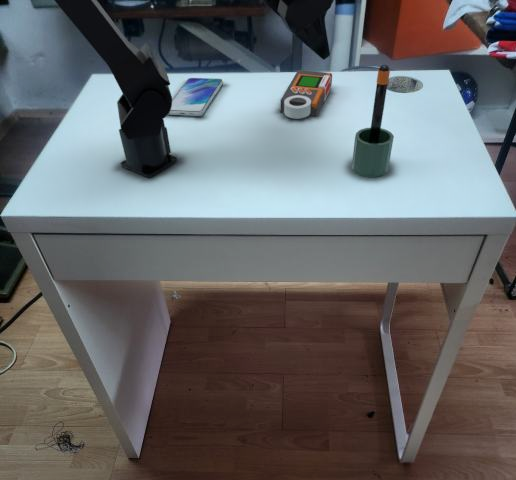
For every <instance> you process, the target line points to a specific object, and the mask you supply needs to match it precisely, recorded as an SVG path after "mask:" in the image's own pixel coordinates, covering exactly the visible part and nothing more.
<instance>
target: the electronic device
mask: <svg viewBox="0 0 516 480" xmlns="http://www.w3.org/2000/svg"><path fill="white" fill-rule="evenodd" d="M332 84H333V73H332V72H325V71H314V70H313V71H312V70H304V69H297V71H296V73H295V74H294V76H293V78H292V80H291V81H290V83H289V84H288V86H287V88H286V90H285V91H284V93H283V95H282V97H281V99H280V113H283V114H284V115H285V116H286V117H288V118H289V119H295V120H296V119H299V120H300V119H304V118H307V117H318V114H319V112H320V111H321V109H322V106H323V105H324V103H325V102H326V99H327V97H328V95H329V93H330V91H331V87H332Z"/></svg>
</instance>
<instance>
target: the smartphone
mask: <svg viewBox="0 0 516 480" xmlns="http://www.w3.org/2000/svg"><path fill="white" fill-rule="evenodd" d="M223 84H224V81H223V79H222V78H206V77H204V78H203V77H190V78H187V79H186V81H185V82H184V84H183V85H182V86H181V87H180V89H179V90H178V91H177V93H176V94H175V95H174V97H172V107H171V110H170V112H169V114H168V115H171V116H172V115H173V116H192V117H193V116H194V117H199V116H200V117H201V116H202V115H204V113H205V112H206V110H207V109H208V107H209V105H210V104H211V103H212V101H213V99H214V98H215V96H216V94H217V93H218V91H219V90H220V89H221V87H222V85H223Z"/></svg>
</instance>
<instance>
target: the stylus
mask: <svg viewBox="0 0 516 480" xmlns="http://www.w3.org/2000/svg"><path fill="white" fill-rule="evenodd" d="M390 73H391V69H390V67H389V65H388V64H381V65H380V66H379V68H378V70H377V77H376V88H375V94H374V99H373V101H374V102H373V109H372V116H371V123H370V128H371V129H370V137H369V143H373V144H378V143H379V136H380V130H381V128H382V122H383V116H384V111H385V103H386V96H387V90H388V84H389V79H390Z"/></svg>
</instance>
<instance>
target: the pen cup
mask: <svg viewBox="0 0 516 480" xmlns="http://www.w3.org/2000/svg"><path fill="white" fill-rule="evenodd" d="M370 129H371V127H364V128H361V129H359V130H357V132H356V133H355V136H354V144H353V151H352V160H351V170H352V171H353V172H354V173H355V174H356V175H358V176H361V177H365V178H379V177H382V176H384V175H385V174H387V173H388V171H389V167H390V166H389V165H390V162H391V161H390V160H391V156H392V149H393V144H394V138H395V136H394V134H393V133H392V132H391V131H389V130H388V129H385V128H382V127H381V130H380V136H379V143H378V144H373V143H369V137H370Z"/></svg>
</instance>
